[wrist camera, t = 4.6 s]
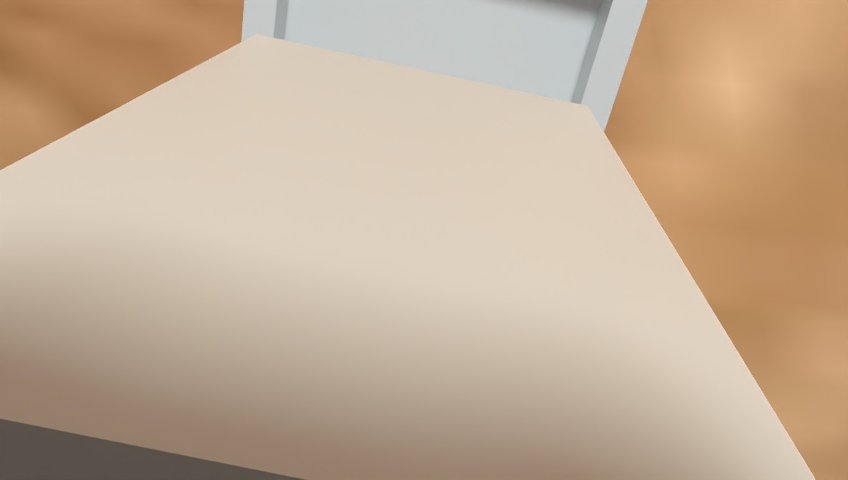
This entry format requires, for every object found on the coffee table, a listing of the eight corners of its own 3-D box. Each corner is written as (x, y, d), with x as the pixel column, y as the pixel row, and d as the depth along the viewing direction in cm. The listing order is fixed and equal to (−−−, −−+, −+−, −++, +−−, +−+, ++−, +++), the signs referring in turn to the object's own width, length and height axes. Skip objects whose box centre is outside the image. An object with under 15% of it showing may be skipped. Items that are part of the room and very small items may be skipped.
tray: (647, -56, 17) (665, -53, 15) (526, 319, 22) (531, 351, 21) (276, -139, 17) (255, -145, 15) (240, 260, 22) (222, 288, 20)
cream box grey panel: (588, 106, 10) (986, 760, 2) (478, 453, 13) (486, 1237, 5) (256, 33, 10) (-550, 461, 2) (225, 401, 13) (-150, 1130, 5)
